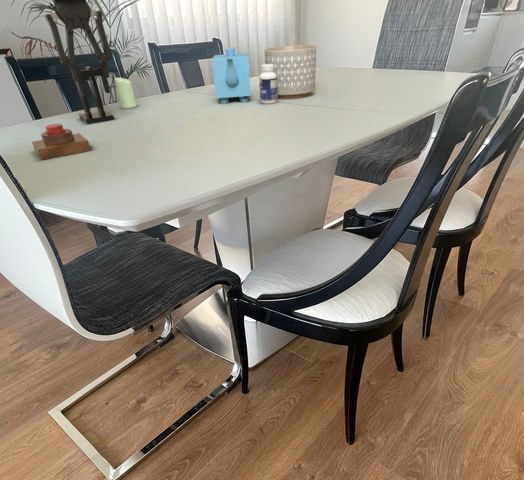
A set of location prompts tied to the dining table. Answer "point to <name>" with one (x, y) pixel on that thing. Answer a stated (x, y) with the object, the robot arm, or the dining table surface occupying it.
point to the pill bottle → (268, 84)
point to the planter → (293, 69)
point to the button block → (60, 144)
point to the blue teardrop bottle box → (231, 75)
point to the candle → (125, 93)
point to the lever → (90, 73)
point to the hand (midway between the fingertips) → (96, 94)
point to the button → (54, 129)
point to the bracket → (101, 114)
